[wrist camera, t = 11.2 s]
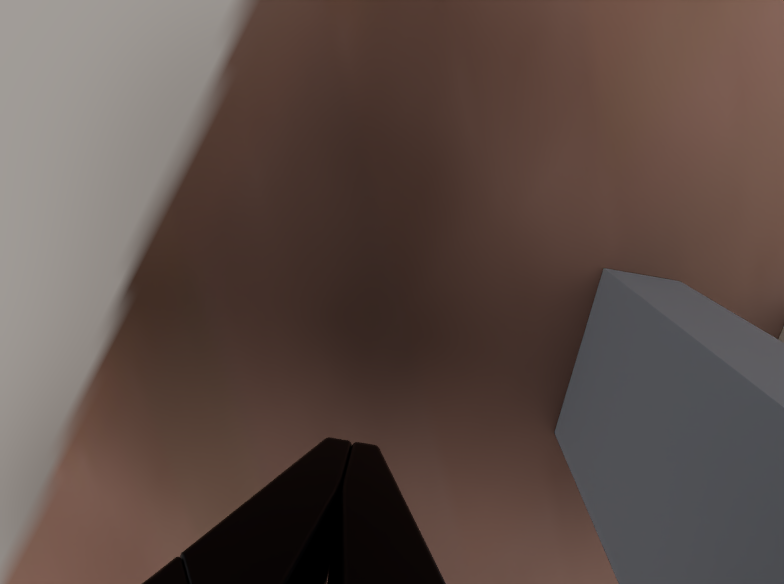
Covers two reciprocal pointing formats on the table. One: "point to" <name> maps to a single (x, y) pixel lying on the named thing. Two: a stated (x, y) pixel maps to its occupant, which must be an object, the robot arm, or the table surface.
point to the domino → (678, 435)
